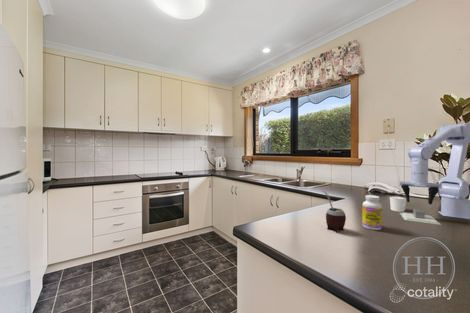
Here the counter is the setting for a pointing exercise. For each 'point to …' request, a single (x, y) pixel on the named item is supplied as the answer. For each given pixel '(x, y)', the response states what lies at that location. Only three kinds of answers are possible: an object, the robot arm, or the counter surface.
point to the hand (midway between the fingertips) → (418, 202)
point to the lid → (419, 216)
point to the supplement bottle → (372, 213)
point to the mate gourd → (335, 218)
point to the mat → (419, 221)
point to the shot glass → (397, 204)
